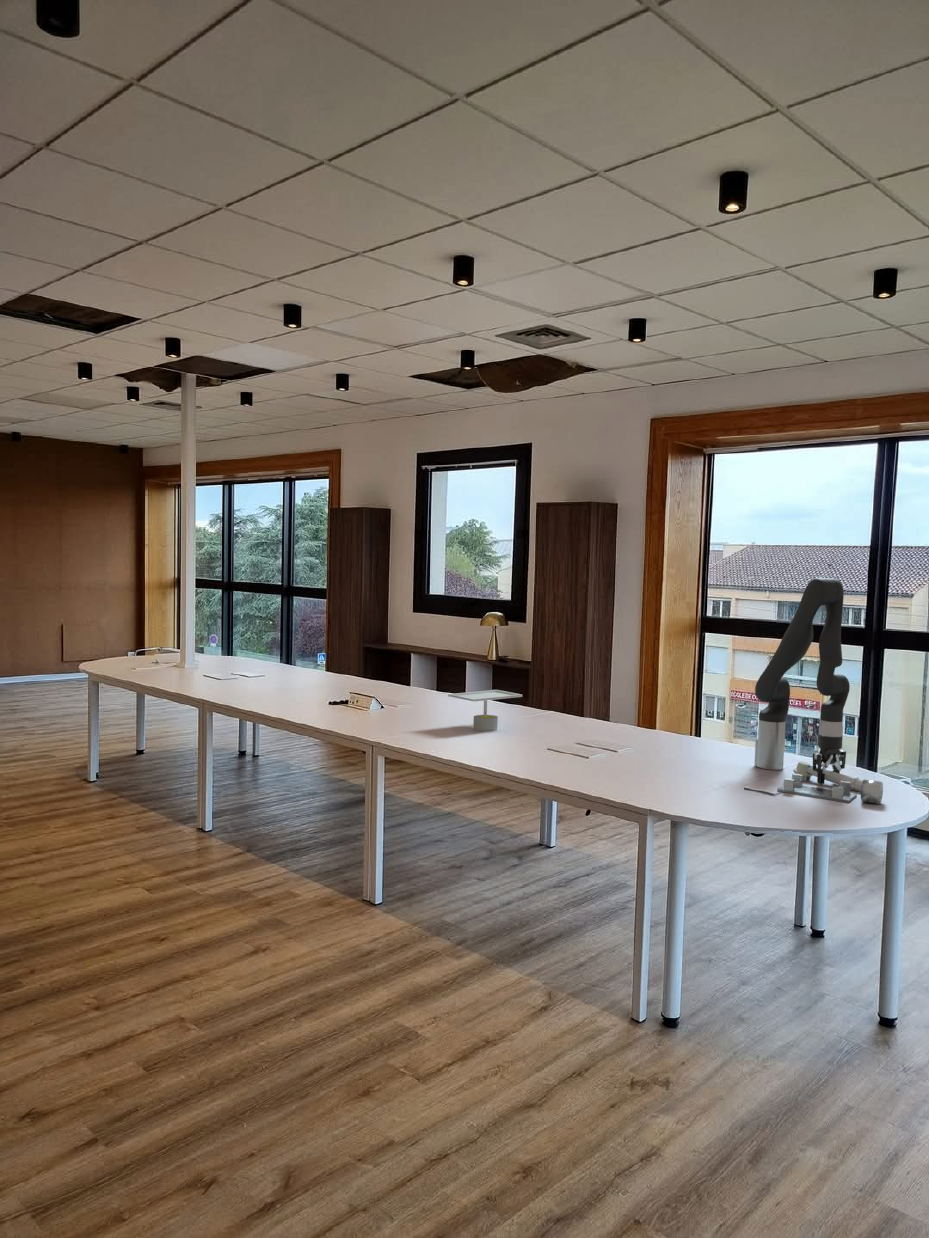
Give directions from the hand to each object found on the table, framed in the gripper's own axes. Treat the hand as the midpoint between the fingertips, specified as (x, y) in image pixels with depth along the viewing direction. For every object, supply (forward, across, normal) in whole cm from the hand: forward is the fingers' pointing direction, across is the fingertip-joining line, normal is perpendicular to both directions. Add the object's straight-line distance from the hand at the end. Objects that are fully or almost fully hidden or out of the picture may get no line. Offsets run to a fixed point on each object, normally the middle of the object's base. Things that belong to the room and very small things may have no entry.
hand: (828, 782), depth 309 cm
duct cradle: (+1, +12, +11) cm, 16 cm away
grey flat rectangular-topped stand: (+1, +57, -131) cm, 143 cm away
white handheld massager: (+1, 0, 0) cm, 1 cm away
